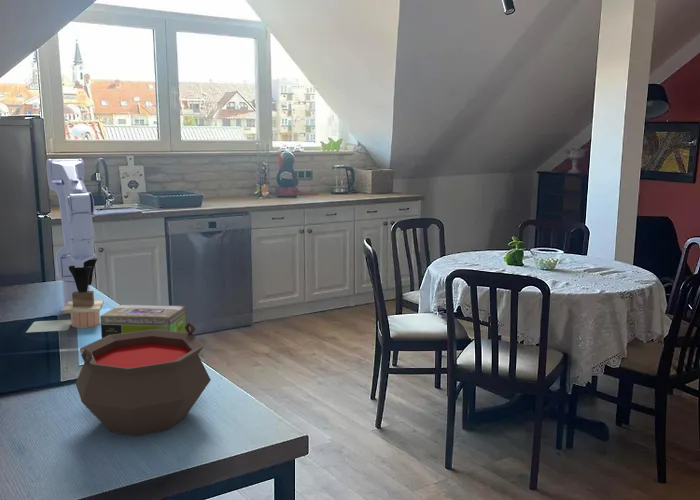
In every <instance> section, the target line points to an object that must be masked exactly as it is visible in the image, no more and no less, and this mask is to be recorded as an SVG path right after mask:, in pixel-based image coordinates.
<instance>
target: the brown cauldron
mask: <svg viewBox="0 0 700 500" xmlns="http://www.w3.org/2000/svg"><path fill="white" fill-rule="evenodd" d="M185 329H186V333H183V332H174V331H165V330H156V329H153V330H145V331H137V332H129V333H121V334H114V335H108V336H106V337H104V338H102V337H101V338H100V339H97V340H95V341H93V342H91V343H89V344H86V345H84V346H82V347H80V348H79V352H80V354H81V355H80V356H81V358H82V360H83V364H82V366H81V370H80V371H79V375H78V376H77V378H76V381H75V386H76V388H77V389H76V390H77V392H78V395H79V398H80V401H81V403H82V404H83V405H84V406H85V408H87V409H88V410H89V412H91V413H92V414H93V416H95V417H96V418H97V419H98V420H99V422H101V424H103V426H104V427H105V428H106V429H107V430H108V431H109V432H111V433H116V434H117V433H118V434H122V435H127V436H128V435H129V436H133V437H134V436H136V437H139V436H143V435H148V434H154V433H159V432H163V431H168V430H171V429H172V428H173V427H174V426H176V425H177V424H178V423H180V422H181V421H183V420H184V419H185V418H186V417H187V415H188V414H189V412H190V411H191V409H192V408H193V407H194V405H195V404H196V402H197V401H198V399H199V398H200V396H201V395H202V393H203V392H204V391H205V389H206V387H207V386H208V385H209V384H210V382H211V381H212V380H211V377H210V376H209V373H208V372H207V369H206V368H205V366H204V364H203V361H202V360H201V357H200V355H199V354H200V352H201V351H202V350H203V348H204V347H205V346H204V344H203V343H202V342H201V341H200V340H199V339H198V338H197V337H196V336H195V335H194V334H193V333H194V332H195V331H196V326H195V324H194V323H193V322H192V321H191V320H189V321H188V322H187V323H186V326H185Z"/></svg>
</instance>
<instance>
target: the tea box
mask: <svg viewBox="0 0 700 500" xmlns="http://www.w3.org/2000/svg"><path fill="white" fill-rule="evenodd" d="M186 318H187V317H186V306H185V305H161V304H160V305H158V304H157V305H154V304H119V305H117V306H115V307H113V308H111V309H110V310H108V311H106V312H105V313H102V314H100V332H101V333H100V334H101V339H102V338H104V337H106V336H108V335H114V334H121V333H129V332H137V331H145V330H153V329H156V330H165V331H174V332H183V333H187V331H186V329H185V326H186V325H187V323H186V320H187V319H186Z"/></svg>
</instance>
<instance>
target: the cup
mask: <svg viewBox="0 0 700 500" xmlns="http://www.w3.org/2000/svg"><path fill="white" fill-rule="evenodd" d="M100 316H101V313H100V312H81V313H70V320H71V325H70V326H71V327H73V328H77V329H78V328H80V329H85V328H86V329H87V328H92V327H96V326H98V325H101V320H100Z"/></svg>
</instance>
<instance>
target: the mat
mask: <svg viewBox="0 0 700 500" xmlns="http://www.w3.org/2000/svg"><path fill="white" fill-rule="evenodd" d="M71 326H72V325H71V319H57V320H40V321H38V320H37V321H34V322H33V323H31V325H30V326H29V328H28V329H27V330H26V331H25V333H28V334H29V333H44V332H61V331H64V332H65V331H68V330H69V329H70V327H71Z"/></svg>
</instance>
